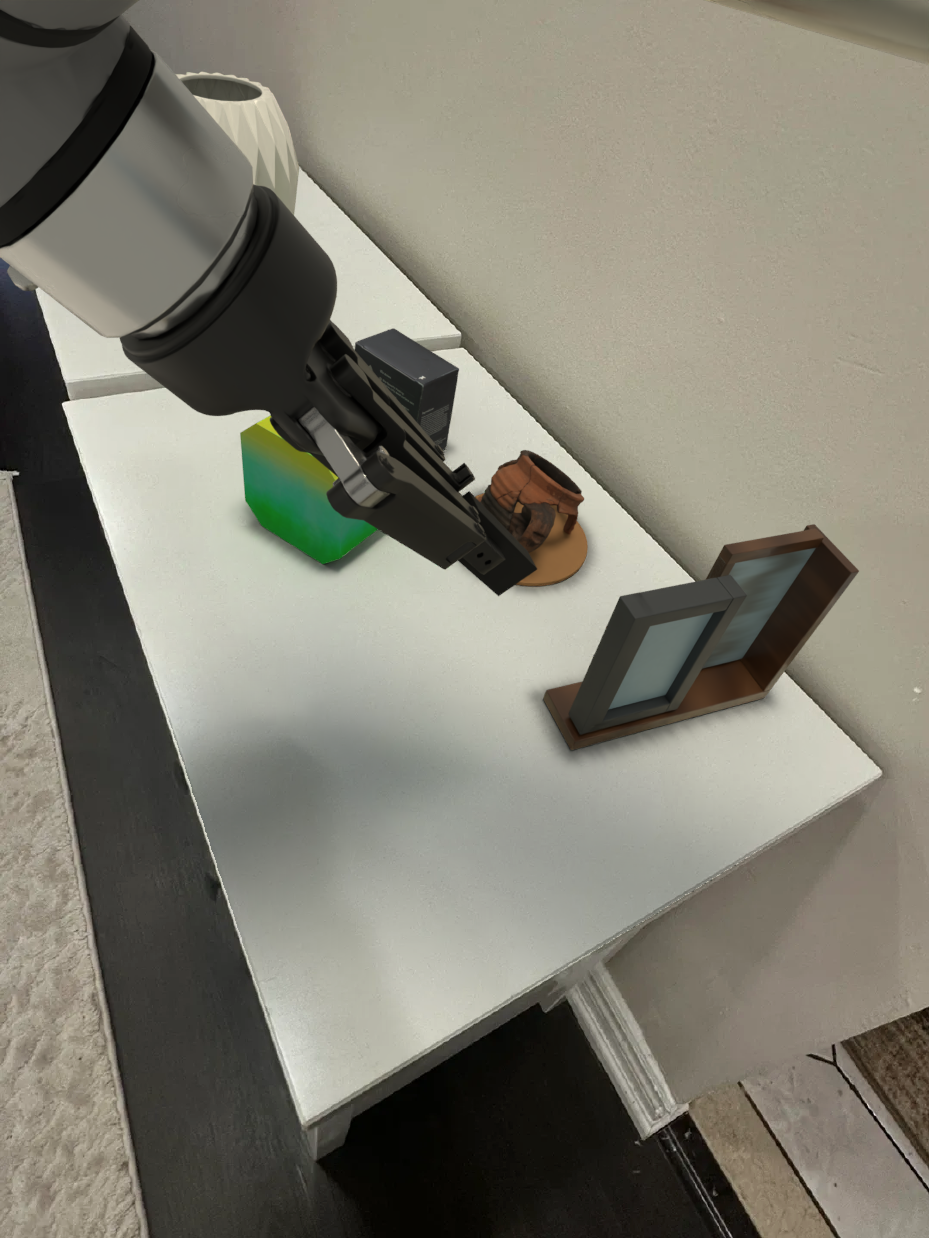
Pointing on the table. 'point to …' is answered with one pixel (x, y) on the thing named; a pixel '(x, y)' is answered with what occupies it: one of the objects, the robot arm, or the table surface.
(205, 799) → the table surface
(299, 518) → the apple
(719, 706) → the brown piece
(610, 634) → the window sash
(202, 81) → the vase
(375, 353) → the box
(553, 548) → the coaster
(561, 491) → the pottery mug
